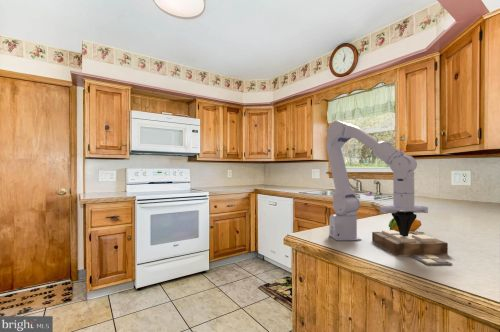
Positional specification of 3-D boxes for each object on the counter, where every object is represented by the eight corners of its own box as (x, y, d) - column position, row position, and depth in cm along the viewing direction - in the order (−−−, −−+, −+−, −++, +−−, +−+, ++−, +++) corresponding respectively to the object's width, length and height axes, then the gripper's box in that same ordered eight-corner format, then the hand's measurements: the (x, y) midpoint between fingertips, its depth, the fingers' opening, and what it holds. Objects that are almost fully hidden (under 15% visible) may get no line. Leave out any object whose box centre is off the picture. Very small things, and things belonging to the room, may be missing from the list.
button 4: (421, 245, 78) (421, 238, 78) (411, 240, 83) (411, 234, 83) (435, 244, 79) (435, 238, 79) (424, 240, 83) (424, 234, 83)
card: (427, 265, 69) (427, 263, 69) (410, 256, 76) (410, 254, 76) (452, 265, 69) (452, 262, 69) (432, 256, 76) (432, 254, 76)
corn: (383, 215, 99) (409, 211, 110) (382, 234, 99) (408, 228, 110) (403, 220, 93) (429, 214, 103) (402, 240, 93) (427, 233, 104)
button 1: (389, 239, 84) (389, 233, 84) (381, 235, 89) (381, 230, 89) (402, 239, 85) (402, 233, 85) (393, 235, 89) (393, 230, 89)
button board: (396, 255, 76) (396, 243, 76) (372, 241, 90) (372, 232, 90) (447, 254, 77) (447, 243, 77) (415, 241, 91) (415, 231, 91)
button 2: (401, 245, 78) (401, 238, 78) (392, 241, 82) (392, 235, 82) (415, 245, 78) (415, 238, 78) (406, 241, 83) (405, 234, 83)
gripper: (388, 194, 76) (389, 239, 76) (435, 194, 77) (435, 238, 77) (376, 192, 83) (376, 233, 83) (418, 191, 84) (419, 232, 84)
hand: (403, 235), depth 80 cm, fingers closed
